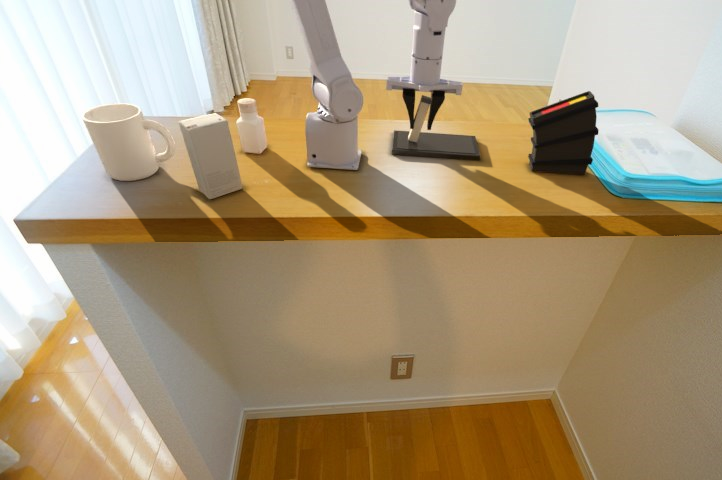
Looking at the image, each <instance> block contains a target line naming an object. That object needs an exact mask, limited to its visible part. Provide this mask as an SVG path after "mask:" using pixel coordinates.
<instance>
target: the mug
mask: <svg viewBox="0 0 722 480" xmlns="http://www.w3.org/2000/svg"><path fill="white" fill-rule="evenodd" d="M81 118H82V121H83V123H84V125H85V128H86V130H87V132H88V134H89V137H90V139H91V141H92V143H93V145H94V148H95V150H96V152H97V155H98V157H99V159H100V161H101V164H102V166H103V168H104V170H105V172H106V174H107V175H108V176H109V177H110V178H111V179H113V180H116V181H120V182H135V181H140V180H144V179H148V178H149V177H151V176H153V175H155V174H156V173H158V171H159V169H160V163H163V162H166V161H167V162H168V161H169V160H170V159H172V157H173V156H174V155H175V152H176V141H175V139H174V136H173V135H172V133H171V131H170V130H169V129H168V128H167V127H166V126H165V125H163V124H161V123H160V122H157V121H155V120H152V119H145V117H144V114H143V111H142V108H140V107H139V106H138V105H136V104H131V103H110V104H104V105H103V104H102V105H99V106H98V105H97V106H95V107H92V108H89V109H87V110H85V111H84V112H83V113H82V114H81ZM149 130H151V131H155V132H157V133H159V134H160V135H161V137H162V138H163V139H164V140H165V141H164V142H165V143H166V149H165V151H164V152H161V153H157V152H156V149H155V146H154V143H153V140H152V138H151V137H152V136H151V135H150V132H149Z"/></svg>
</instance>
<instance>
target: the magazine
mask: <svg viewBox="0 0 722 480" xmlns="http://www.w3.org/2000/svg"><path fill="white" fill-rule="evenodd" d="M597 108H599V102H598V101H597V100H596V99H595V95H594V93H593V92H591V90H588V91H585V92H582V93H579V94H576V95H574V96H571V97H568V98H565V99H563V100H560V101H557V102H554V103H552V104H551V103H550V104H548V105H546V106H542V107H540V108H538V109H535V110H532V111H530V112H529V117H528V123H529V125H530V127H531V129H532V136H531V137H530V141H531V144H532V149H531V153H528V155H527V158H528V160H529V161H528V167H529V169H530V171H531V172H535V173H551V174H564V175H579V176H585V175H586V173H587V169H588V166H590V165H593V161H594V159H593V157H592V153H593V149H594V145H595V138H596V136H598V135H599V128H598V126H597Z"/></svg>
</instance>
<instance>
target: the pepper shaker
mask: <svg viewBox="0 0 722 480" xmlns="http://www.w3.org/2000/svg"><path fill="white" fill-rule="evenodd" d="M236 102H237V103H236V104H237V108H238V112H239V116H240V117H238V119H237V120H236V127H237V133H238V137H239V143H240V147H241V151H242V152H243V153H249V154H257V155H259V154H262V153H263V152H264V151H265V150H266V148H267V147H268V140H267V134H266V127H265V121H264V118H263V117H262V116H260V115H258V106H257V101H256V99H254V98H250V97H244V98H240V99H238V100H237V101H236Z"/></svg>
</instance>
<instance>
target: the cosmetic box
mask: <svg viewBox="0 0 722 480" xmlns="http://www.w3.org/2000/svg"><path fill="white" fill-rule="evenodd" d="M177 123H178V126H179V129H180V133H181V137H182V139H183V142H184V145H185V148H186V151H187V156H188V158H189V162H190V164H191V168H192V171H193V174H194V178H195V180H196V184H197V187H198V189H199V191H200V192H201V193H202V194H203V195H204V196H205V197H206V198H207V199H208V200H213V199H216V198H219V197H222V196H225V195H228V194H230V193H234V192H236V191H239V190H243V188H244V187H243V183H242V177H241V174H240V169H239V165H238V160H237V156H236V155H237V154H236V152H235V146H234V143H233V138H232V134H231V130H230V126H229V121H228V120H227V119H226V118H225V117H223V116H222V115H220V114H218V113H217V112H214V113H209V114H203V115H199V116H197V117H196V116H195V117H191V118H187V119H182V120H178V122H177Z"/></svg>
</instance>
